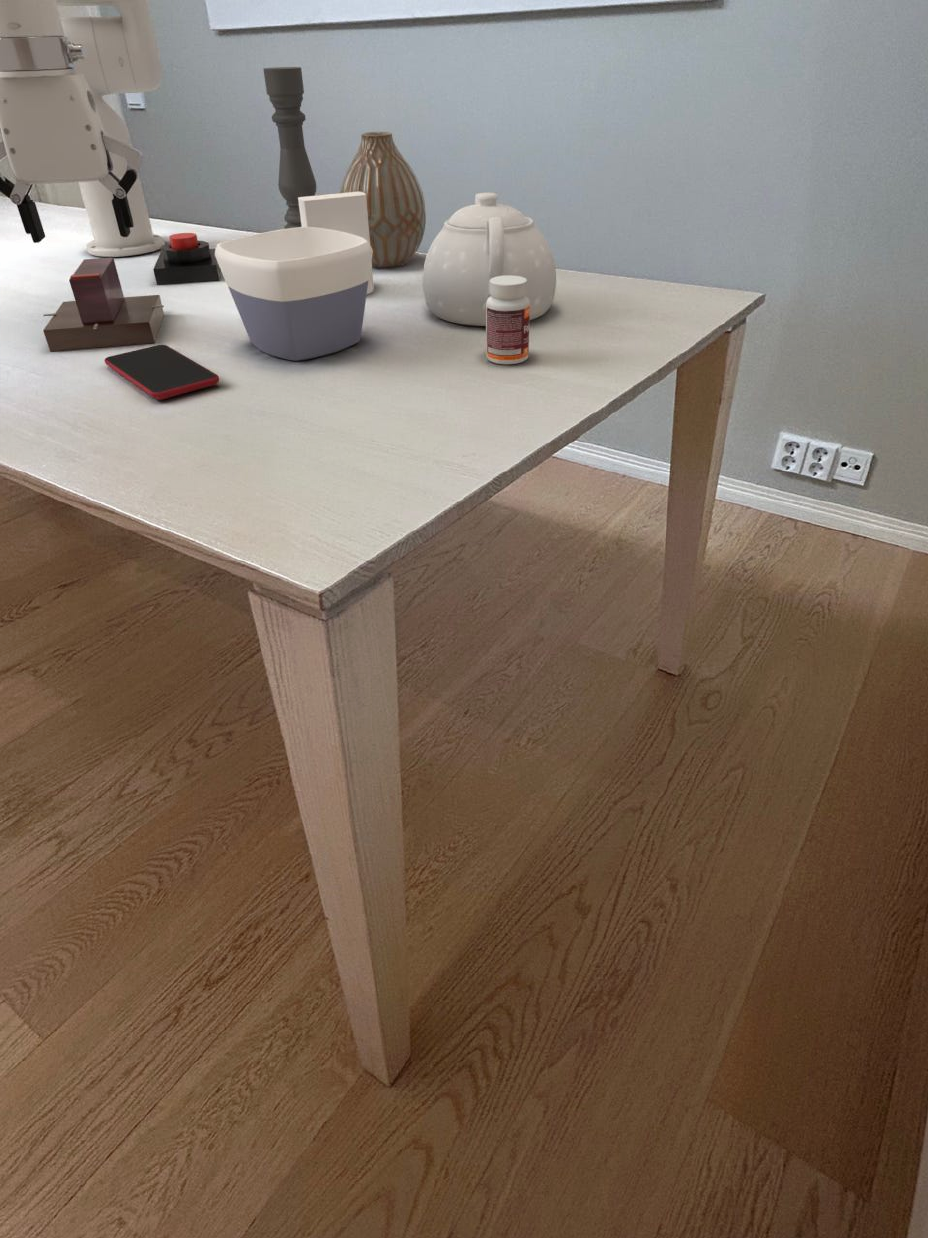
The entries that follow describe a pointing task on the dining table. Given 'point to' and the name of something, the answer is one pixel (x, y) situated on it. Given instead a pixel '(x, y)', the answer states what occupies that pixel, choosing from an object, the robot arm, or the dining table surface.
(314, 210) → the base with upright slab
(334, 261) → the bowl
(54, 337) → the panel
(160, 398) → the smartphone
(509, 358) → the pill bottle
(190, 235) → the button
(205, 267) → the button block
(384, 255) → the vase
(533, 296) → the teapot
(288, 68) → the candle holder
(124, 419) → the dining table surface
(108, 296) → the bar
